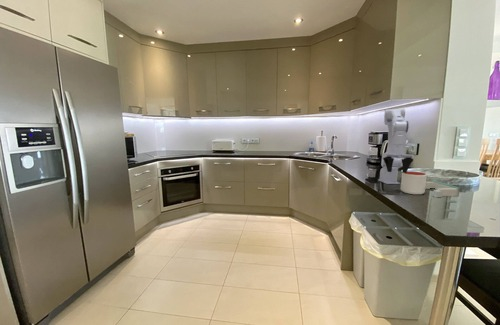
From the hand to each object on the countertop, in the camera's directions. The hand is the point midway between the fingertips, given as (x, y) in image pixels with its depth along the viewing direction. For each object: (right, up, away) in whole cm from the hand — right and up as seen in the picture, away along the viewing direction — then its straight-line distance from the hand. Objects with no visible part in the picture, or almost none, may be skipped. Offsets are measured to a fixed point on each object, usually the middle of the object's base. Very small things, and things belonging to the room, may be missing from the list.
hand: (396, 172), depth 109 cm
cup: (+9, -11, +2) cm, 14 cm away
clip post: (+15, -12, -6) cm, 20 cm away
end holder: (+21, -10, +2) cm, 24 cm away
